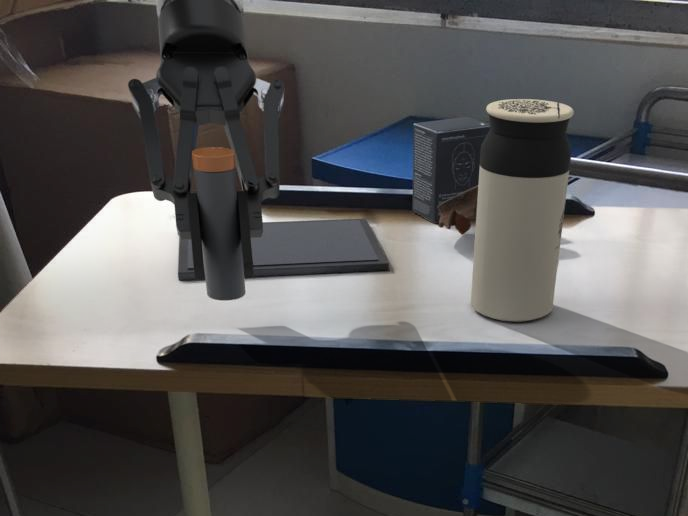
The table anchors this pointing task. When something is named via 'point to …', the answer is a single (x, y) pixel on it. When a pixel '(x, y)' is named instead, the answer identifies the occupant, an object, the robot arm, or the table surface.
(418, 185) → the box
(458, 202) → the brown jagged lump
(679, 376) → the table surface
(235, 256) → the bottle
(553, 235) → the travel mug
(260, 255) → the tablet
